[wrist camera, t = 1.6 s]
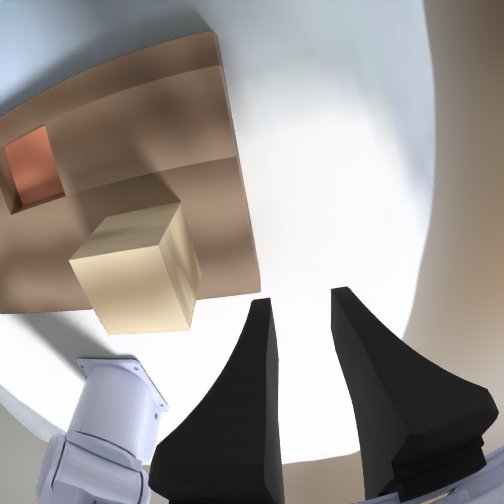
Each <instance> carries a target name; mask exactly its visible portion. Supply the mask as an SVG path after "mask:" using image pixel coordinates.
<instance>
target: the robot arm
mask: <svg viewBox="0 0 504 504" xmlns="http://www.w3.org/2000/svg"><path fill="white" fill-rule="evenodd" d="M331 331H332V336H333V340H334V345H335V350H336V353H337V356H338V359H339V362H340V365H341V369H342V372H343V375H344V378H345V381H346V384H347V387H348V390H349V393H350V396H351V400H352V404H353V408H354V413H355V419H356V424H357V430H358V436H359V443H360V450H361V457H362V466H363V476H364V487H365V500H366V501H362V502H357V503H352V504H420V503H423V502H426V501H428V500H431V499H433V498H436V497H438V496H441V495H443V494H446V493H448V492H449V494H448V495H447V496H445V497H443V498H441V499H439V500H437V501H435V502H432V503H430V504H504V446H502V447H501V448H499V449H497V450H495V451H493V452H491V453H490V454H488V455H486V456H484V455H483V452H482V449H481V447H482V446H483V445H484V441H483V439H482V434H484V433H485V431H486V430H487V429H488V428H489V427H490V426H491V425H492V424H493V422H494V421H495V420H496V419H497V416H498V414H499V411H498V409H497V407H496V404H495V402H494V400H493V398H492V396H491V394H490V393H489V392H488V389H486V388H483V387H481V386H479V385H476V384H473V383H471V382H469V381H466V380H464V379H462V378H460V377H458V376H456V375H454V374H452V373H450V372H448V371H446V370H444V369H442V368H441V367H439V366H438V365H436V364H434V363H433V362H431V361H429V360H428V359H426V358H424V357H423V356H421V355H420V354H419V353H417V352H416V351H414V350H413V349H412V348H410V347H409V346H408V345H407V344H405V343H404V342H403V341H402V340H400V339H399V338H398V337H397V336H396V335H395V334H393V333H392V332H391V331H390V330H389V329H388V328H387V327H386V326H385V325H384V324H383V323H382V322H381V321H379V320H378V319H377V318H376V317H375V316H374V315H373V314H372V313H371V312H370V310H369V309H368V308H367V307H366V306H365V305H364V304H363V303H362V302H361V301H360V300H359V299H358V298H357V296H356V295H355V294H354V293H353V292H352V291H351V290H350V288H348V287H340V288H334V289H331ZM76 363H77V365H78V366H79V367H80V369H81V370H82V371H83V373H84V374H85V375H86V376H87V381H86V383H85V386H84V388H83V391H82V393H81V396H80V398H79V401H78V404H77V406H76V409H75V412H74V414H73V417H72V420H71V423H70V426H69V429H68V431H67V433H66V434H65V435H64V434H62V433H58V434H54V435H52V437H51V439H50V441H49V444H48V446H47V449H46V452H45V454H44V457H43V460H42V463H41V467H40V470H39V475H38V482H37V487H36V490H35V494H36V496H37V501H38V503H39V504H149V502H150V497H151V489H152V490H153V491H154V492H156V493H158V494H159V495H161V496H163V497H165V498H166V499H168V500H169V504H285V499H284V487H283V475H282V463H281V451H280V438H279V425H278V363H279V359H278V349H277V339H276V331H275V325H274V319H273V312H272V306H271V300H270V298H264V299H256V300H253V301H252V302H251V306H250V310H249V313H248V317H247V320H246V322H245V325H244V328H243V330H242V333H241V335H240V337H239V340H238V342H237V344H236V346H235V348H234V350H233V352H232V354H231V356H230V358H229V360H228V362H227V363H226V365H225V367H224V369H223V370H222V372H221V374H220V375H219V377H218V378H217V380H216V381H215V383H214V384H213V386H212V387H211V388H210V390H209V391H208V393H207V394H206V395H205V397H204V398H203V399H202V400H201V402H200V403H199V404H198V405H197V406H196V408H195V409H194V410H193V411H192V412H191V413H190V414H189V415H188V416H187V418H186V419H185V420H184V421H183V422H182V423H181V424H180V425H179V426H178V427H177V428H176V429H175V430H174V431H172V432H171V433H170V434H169V435H168V436H167V437H166V438H165V439H164V440H163V441H161V442H160V443H159V444H158V445H157V447H156V450H155V453H154V456H153V459H152V462H151V468H150V473H149V478H148V475H147V473H146V472H145V471H144V470H143V469H141V467H142V465H144V464H145V463H146V462H147V461H148V460H149V459H150V458H151V456H152V455H153V452H154V449H155V443H156V438H157V432H158V427H159V422H160V417H161V412H162V411H164V412H167V411H169V407H168V405H167V404H166V402H165V401H164V400H163V398H162V397H161V395H160V394H159V392H158V391H157V389H156V388H155V386H154V385H153V383H152V382H151V380H150V379H149V377H148V376H147V374H146V373H145V371H144V370H143V368H142V367H141V365H140V363H139V362H138V361H137V360H106V359H77V361H76Z"/></svg>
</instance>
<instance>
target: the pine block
mask: <svg viewBox="0 0 504 504" xmlns="http://www.w3.org/2000/svg"><path fill="white" fill-rule="evenodd" d="M69 262H70V264H71V266H72V268H73V270H74V273H75V275H76V277H77V279H78V281H79V283H80V285H81V287H82V289H83V291H84V292H85V294H86V296H87V298H88V300H89V302H90V304H91V306H92V307H93V309H94V311H95V313H96V315H97V316H98V318H99V320H100V322H101V324H102V325H103V327H104V329H105V330H106V332H107V334H108V335H114V334H138V333H156V332H172V331H185V330H190V326H191V322H192V317H193V312H194V307H195V303H196V298H197V294H198V289H199V285H200V280H201V276H202V273H201V270H200V267H199V263H198V260H197V256H196V253H195V249H194V246H193V242H192V239H191V235H190V232H189V228H188V224H187V221H186V217H185V213H184V210H183V206H182V202H177V203H171V204H166V205H161V206H156V207H151V208H146V209H141V210H137V211H132V212H127V213H122V214H118V215H113V216H109V217H106V218H105V219H104V220H103V222H102V223H101V224H100V225H99V226H98V227H97V228H96V229H95V230H94V231H93V233H92V234H91V235H90V236H89V237H88V238H87V239H86V241H85V242H84V243H83V244H82V245H81V246H80V248H79V249H78V250H77V251H76V252H75V253H74V255H73V256H72V257H71V258H70V259H69Z"/></svg>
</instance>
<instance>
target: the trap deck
mask: <svg viewBox="0 0 504 504" xmlns="http://www.w3.org/2000/svg"><path fill="white" fill-rule="evenodd" d="M177 202H182V206H183V210H184V213H185V217H186V221H187V224H188V228H189V232H190V235H191V239H192V242H193V246H194V249H195V253H196V256H197V260H198V263H199V267H200V270H201V273H202V276H201V280H200V285H199V289H198V294H197V298H196V300H200V299H209V298H218V297H226V296H235V295H243V294H251V293H259V292H261V283H260V271H259V266H258V260H257V254H256V249H255V243H254V237H253V232H252V226H251V220H250V215H249V209H248V203H247V198H246V192H245V187H244V181H243V175H242V170H241V164H240V159H239V153H238V148H237V142H236V137H235V131H234V125H233V120H232V114H231V109H230V103H229V98H228V92H227V87H226V81H225V76H224V70H223V65H222V60H221V54H220V49H219V43H218V38H217V35H216V34H215V32H214V31H213V30H212V31H207V32H202V33H198V34H194V35H189V36H185V37H181V38H177V39H174V40H170V41H166V42H163V43H159V44H156V45H153V46H149V47H146V48H143V49H140V50H137V51H134V52H131V53H128V54H126V55H123V56H120V57H117V58H115V59H112V60H109V61H107V62H104V63H102V64H100V65H97V66H95V67H92V68H90V69H88V70H85V71H83V72H81V73H79V74H77V75H74V76H72V77H70V78H68V79H66V80H64V81H62V82H60V83H58V84H56V85H54V86H52V87H50V88H48V89H47V90H45V91H43V92H41V93H39V94H37V95H36V96H34V97H32V98H30V99H29V100H27V101H25V102H24V103H22V104H20V105H19V106H17V107H15V108H14V109H12V110H11V111H9V112H7V113H6V114H4V115H3V116H1V117H0V314H16V313H39V312H58V311H75V310H89V309H93V307H92V306H91V304H90V302H89V300H88V298H87V296H86V294H85V292H84V291H83V289H82V287H81V285H80V283H79V281H78V279H77V277H76V275H75V273H74V270H73V268H72V266H71V264H70V262H69V259H70V258H71V257H72V256H73V255H74V253H75V252H76V251H77V250H78V249H79V248H80V246H81V245H82V244H83V243H84V242H85V241H86V239H87V238H88V237H89V236H90V235H91V234H92V233H93V231H94V230H95V229H96V228H97V227H98V226H99V225H100V224H101V223H102V222H103V220H104V219H105V218H106V217H109V216H113V215H118V214H122V213H127V212H132V211H137V210H141V209H146V208H151V207H156V206H161V205H166V204H171V203H177Z"/></svg>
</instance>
